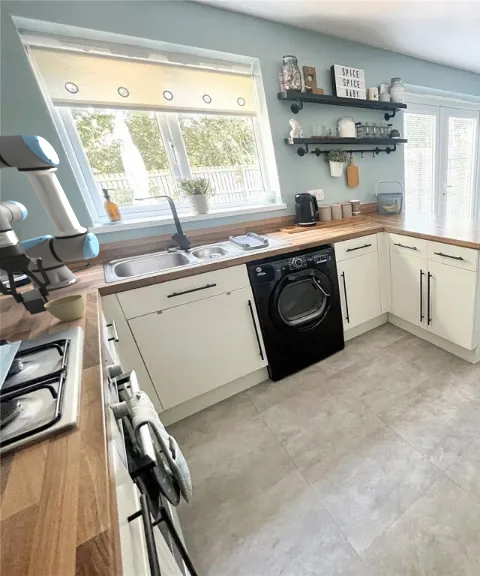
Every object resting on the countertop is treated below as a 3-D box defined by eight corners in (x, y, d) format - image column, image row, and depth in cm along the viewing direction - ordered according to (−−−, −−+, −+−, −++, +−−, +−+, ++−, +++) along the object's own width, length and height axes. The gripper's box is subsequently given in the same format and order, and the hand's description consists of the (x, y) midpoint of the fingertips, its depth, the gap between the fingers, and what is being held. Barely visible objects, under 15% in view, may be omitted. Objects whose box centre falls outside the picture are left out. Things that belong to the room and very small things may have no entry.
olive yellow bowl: (54, 319, 111) (44, 301, 108) (90, 309, 117) (81, 292, 115) (53, 328, 104) (42, 309, 102) (91, 317, 111) (83, 299, 108)
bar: (29, 305, 116) (22, 293, 114) (45, 301, 119) (39, 289, 117) (31, 315, 107) (23, 302, 105) (49, 310, 110) (42, 297, 108)
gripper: (-39, 253, 95) (2, 319, 105) (41, 240, 107) (72, 300, 117) (-37, 250, 100) (2, 313, 109) (39, 238, 112) (69, 296, 121)
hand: (38, 306), depth 113 cm, fingers closed on bar, 4 cm apart
